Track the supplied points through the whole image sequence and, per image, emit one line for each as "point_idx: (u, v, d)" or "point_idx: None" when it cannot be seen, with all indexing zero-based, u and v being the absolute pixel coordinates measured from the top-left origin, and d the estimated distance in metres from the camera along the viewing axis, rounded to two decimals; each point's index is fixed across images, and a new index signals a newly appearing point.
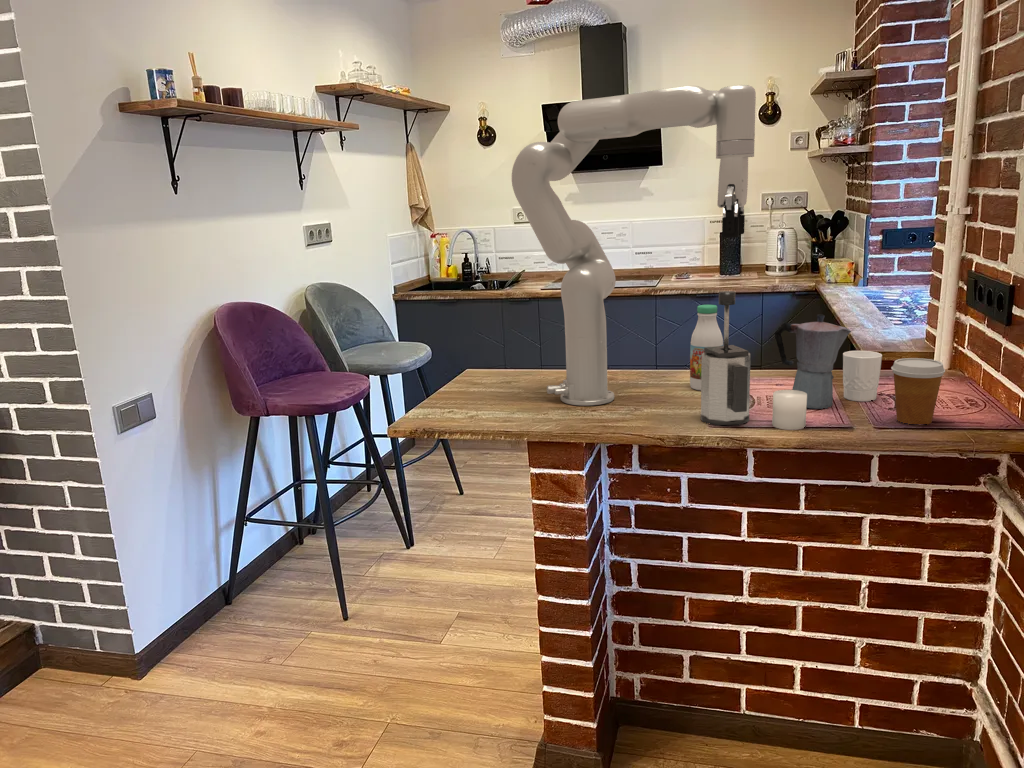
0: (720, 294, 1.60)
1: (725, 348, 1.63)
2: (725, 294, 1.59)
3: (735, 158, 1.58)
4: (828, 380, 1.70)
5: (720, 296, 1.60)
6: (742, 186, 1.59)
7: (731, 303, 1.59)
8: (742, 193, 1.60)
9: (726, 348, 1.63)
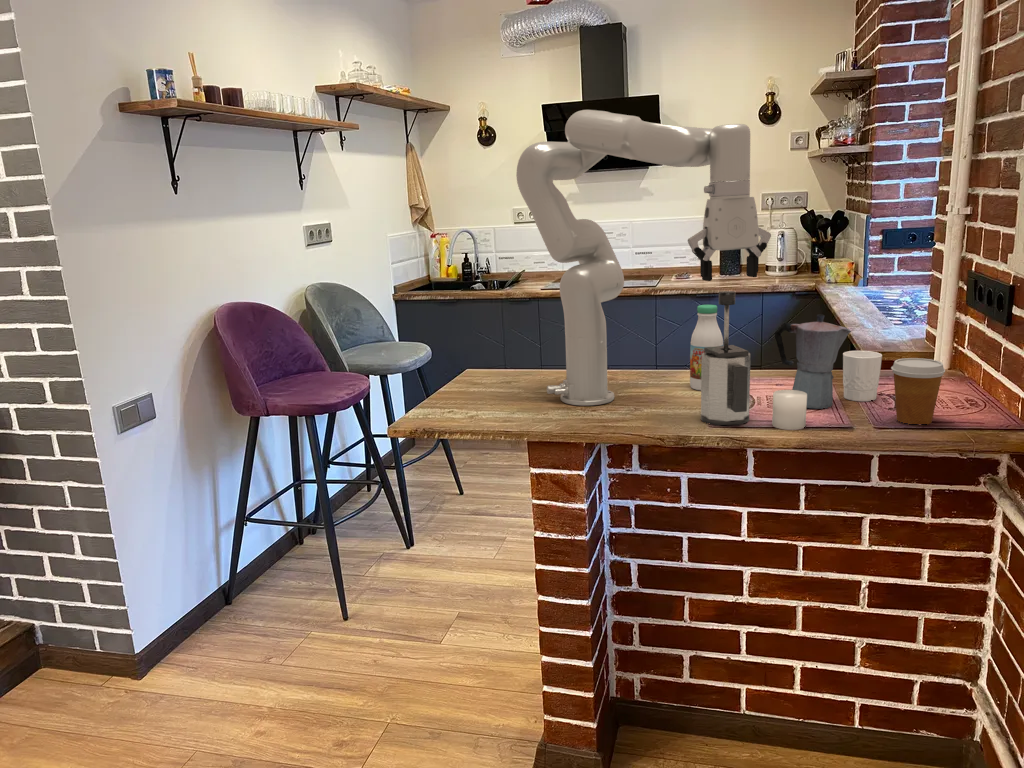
0: (720, 294, 1.60)
1: (725, 348, 1.63)
2: (725, 294, 1.59)
3: None
4: (828, 380, 1.70)
5: (720, 296, 1.60)
6: None
7: (731, 303, 1.59)
8: None
9: (726, 348, 1.63)
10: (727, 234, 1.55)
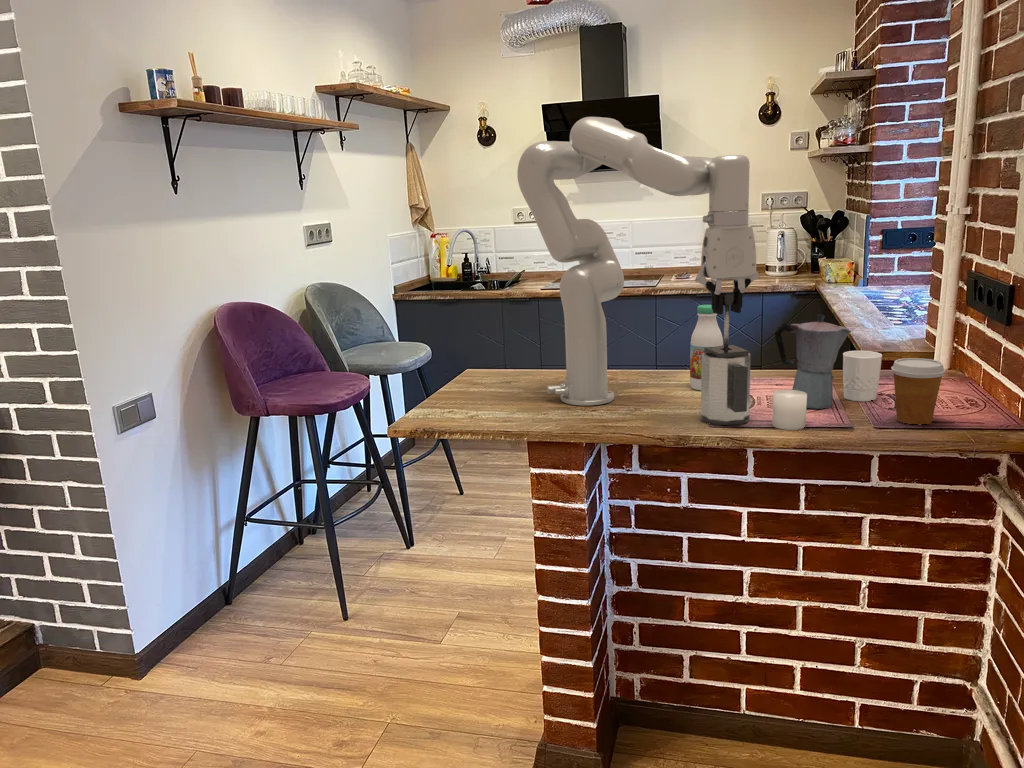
0: None
1: (725, 348, 1.63)
2: (725, 294, 1.59)
3: None
4: (828, 380, 1.70)
5: None
6: None
7: (731, 303, 1.60)
8: None
9: (726, 348, 1.63)
10: (725, 263, 1.56)
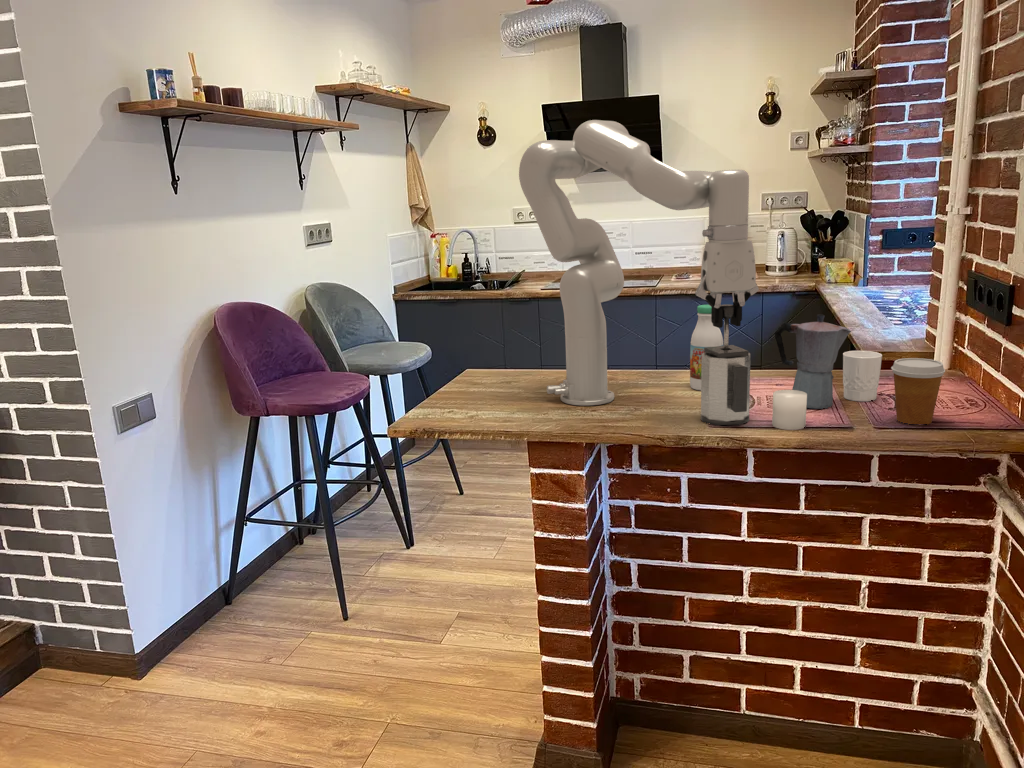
0: None
1: None
2: (725, 308, 1.60)
3: None
4: (828, 380, 1.70)
5: None
6: None
7: (731, 316, 1.60)
8: None
9: None
10: (725, 277, 1.57)
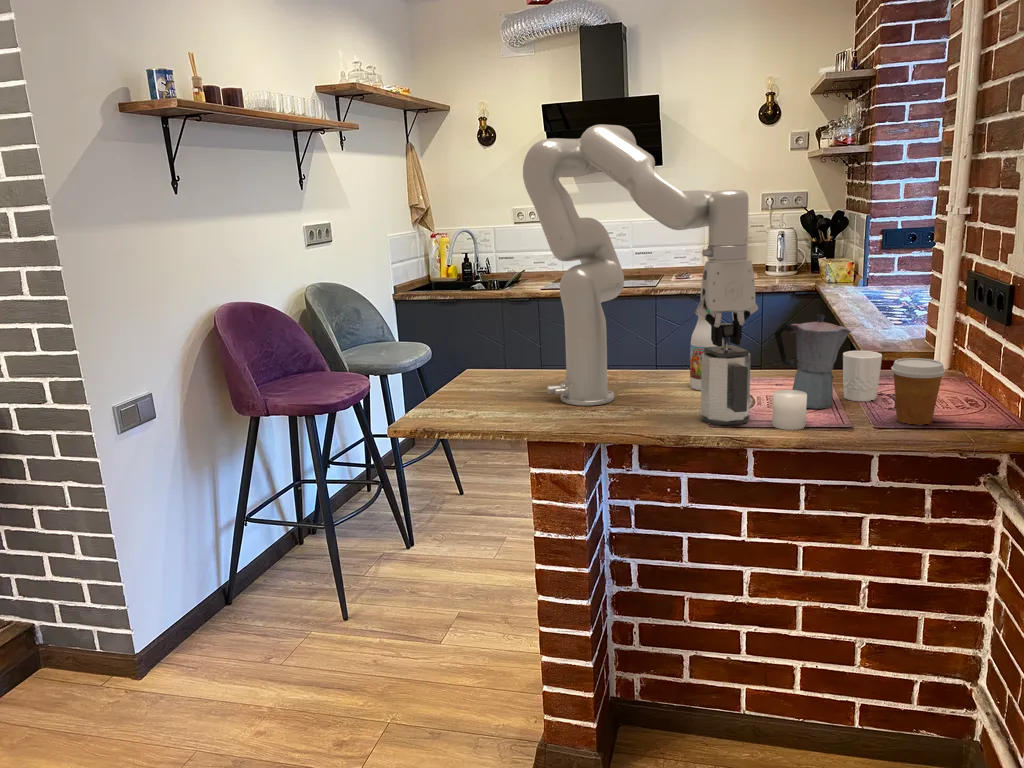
0: None
1: None
2: (724, 327, 1.61)
3: None
4: (828, 380, 1.70)
5: None
6: None
7: (730, 335, 1.61)
8: None
9: None
10: (724, 297, 1.58)
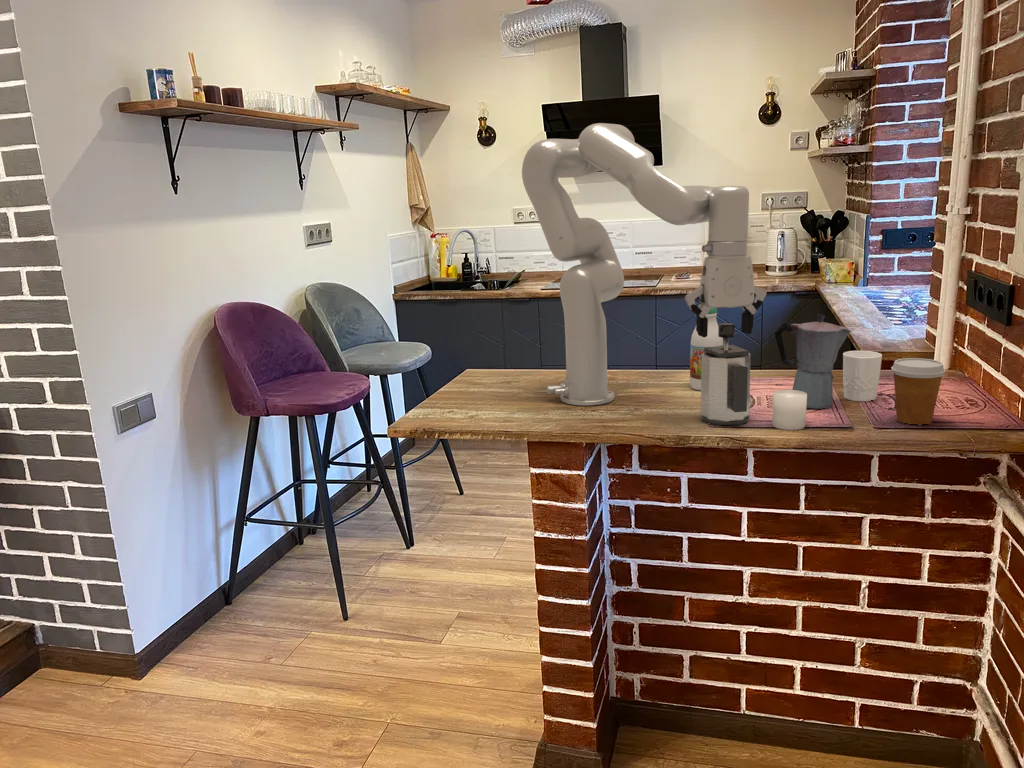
0: (719, 326, 1.62)
1: None
2: (724, 327, 1.61)
3: None
4: (829, 380, 1.70)
5: (719, 328, 1.62)
6: None
7: (730, 335, 1.61)
8: None
9: None
10: (723, 293, 1.58)
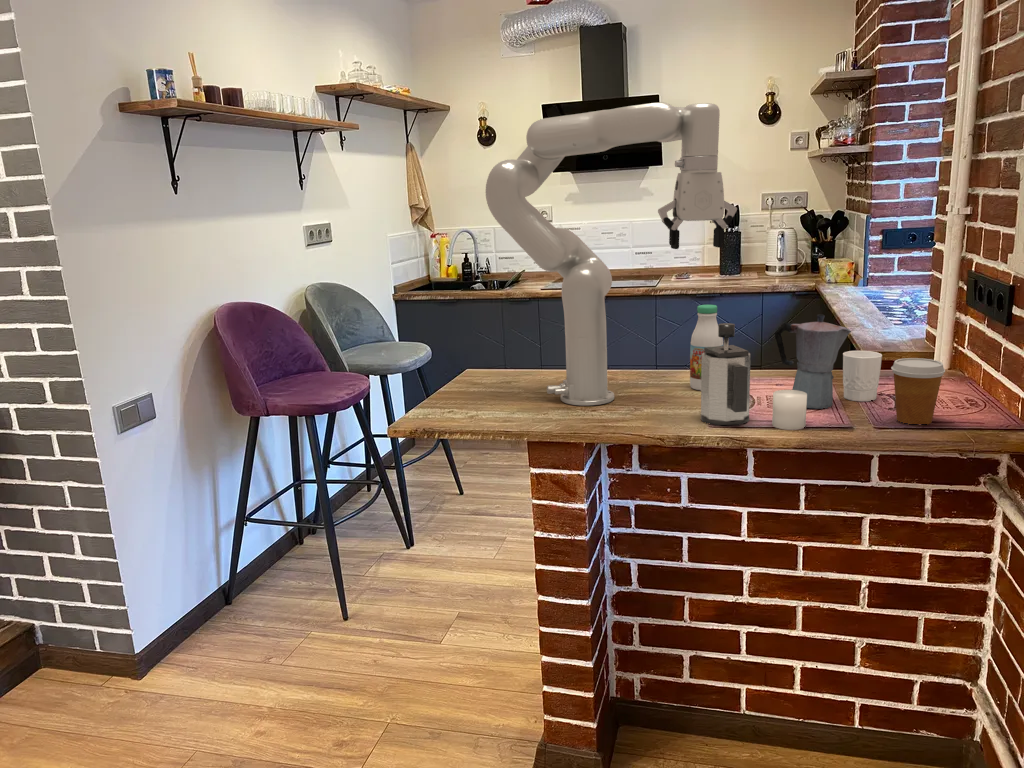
0: (719, 326, 1.62)
1: None
2: (724, 327, 1.61)
3: None
4: (829, 380, 1.70)
5: (719, 328, 1.62)
6: None
7: (730, 335, 1.61)
8: None
9: None
10: (694, 206, 1.67)
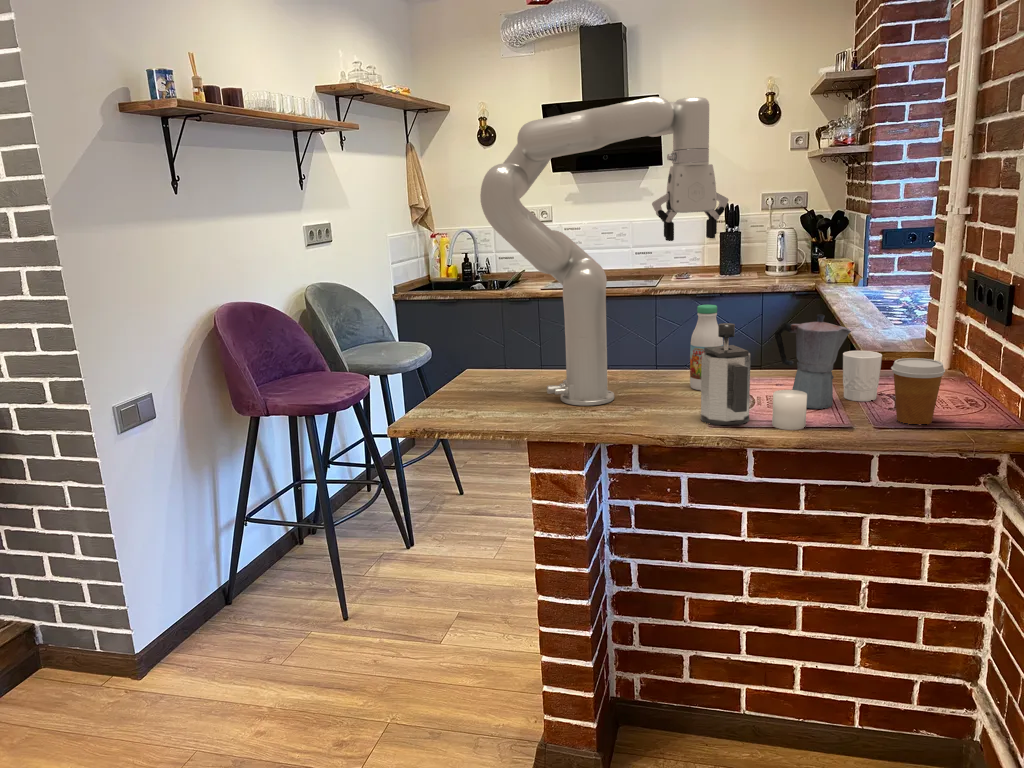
0: (719, 326, 1.62)
1: None
2: (724, 327, 1.61)
3: None
4: (829, 380, 1.70)
5: (719, 328, 1.62)
6: None
7: (730, 335, 1.61)
8: None
9: None
10: (687, 198, 1.70)
